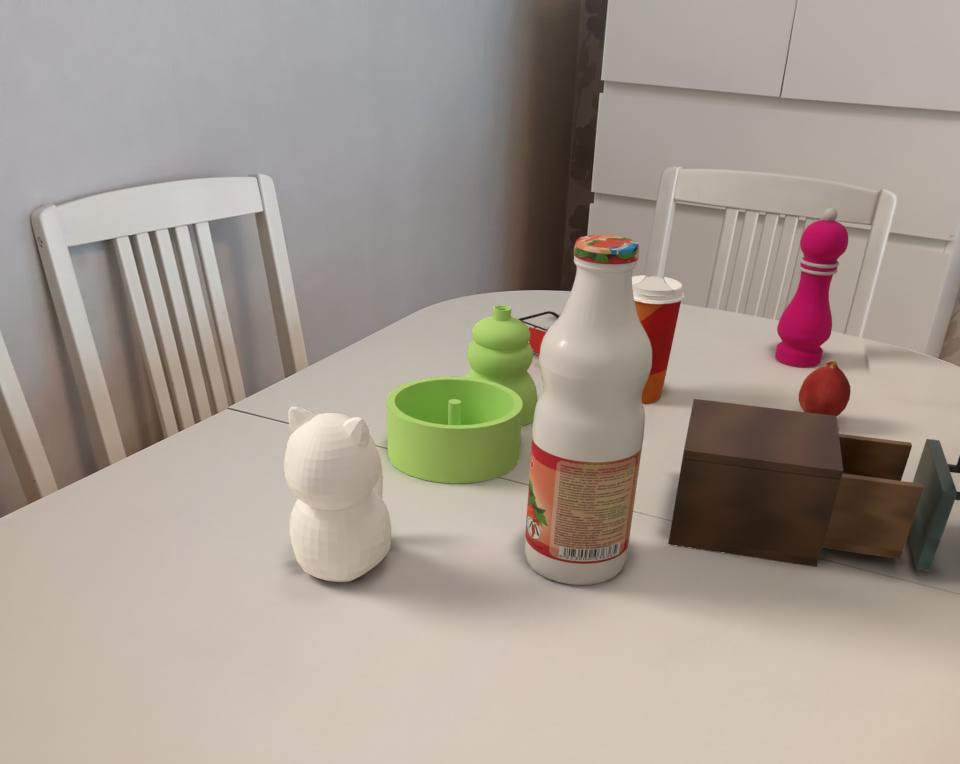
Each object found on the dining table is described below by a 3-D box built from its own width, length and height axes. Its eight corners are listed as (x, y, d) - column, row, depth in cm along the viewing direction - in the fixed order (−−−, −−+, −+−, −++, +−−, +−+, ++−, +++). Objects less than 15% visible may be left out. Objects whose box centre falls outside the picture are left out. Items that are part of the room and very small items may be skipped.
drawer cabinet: (813, 505, 100) (836, 415, 94) (817, 567, 90) (843, 470, 84) (678, 486, 102) (693, 398, 97) (667, 544, 92) (683, 449, 87)
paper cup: (611, 381, 127) (624, 271, 119) (670, 388, 126) (687, 277, 118) (605, 403, 121) (618, 288, 112) (667, 410, 120) (685, 295, 111)
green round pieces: (489, 494, 100) (494, 375, 92) (364, 466, 104) (359, 350, 97) (566, 410, 119) (575, 306, 111) (458, 389, 123) (460, 288, 116)
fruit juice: (593, 599, 84) (633, 265, 68) (503, 564, 88) (521, 242, 72) (643, 556, 90) (691, 240, 74) (557, 525, 95) (584, 221, 78)
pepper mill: (763, 361, 135) (795, 207, 124) (781, 347, 140) (813, 199, 129) (813, 372, 132) (851, 216, 121) (830, 358, 137) (868, 207, 125)
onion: (797, 411, 121) (812, 347, 116) (845, 420, 119) (862, 356, 114) (788, 427, 116) (803, 362, 112) (837, 437, 115) (854, 371, 110)
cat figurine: (269, 583, 84) (251, 421, 76) (333, 519, 94) (323, 369, 85) (363, 604, 82) (355, 440, 73) (418, 537, 92) (418, 385, 83)
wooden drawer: (970, 521, 96) (998, 447, 92) (991, 580, 87) (1022, 501, 82) (786, 495, 99) (804, 423, 95) (787, 550, 90) (807, 473, 86)
